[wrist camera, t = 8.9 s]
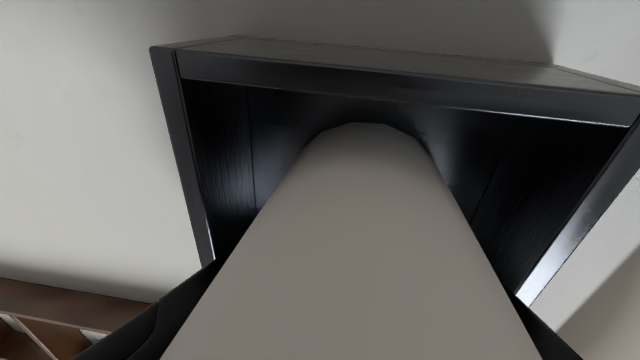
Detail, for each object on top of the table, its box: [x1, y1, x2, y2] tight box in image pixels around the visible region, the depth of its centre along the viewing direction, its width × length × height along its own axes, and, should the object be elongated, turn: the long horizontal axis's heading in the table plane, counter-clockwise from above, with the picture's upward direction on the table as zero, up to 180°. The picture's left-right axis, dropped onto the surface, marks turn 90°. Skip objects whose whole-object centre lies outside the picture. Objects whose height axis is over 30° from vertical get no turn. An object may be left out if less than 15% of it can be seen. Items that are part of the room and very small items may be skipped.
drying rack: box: [0, 278, 152, 360], centre depth 22 cm, size 54×9×2 cm, turn 90°
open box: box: [149, 35, 640, 307], centre depth 9 cm, size 10×10×4 cm
